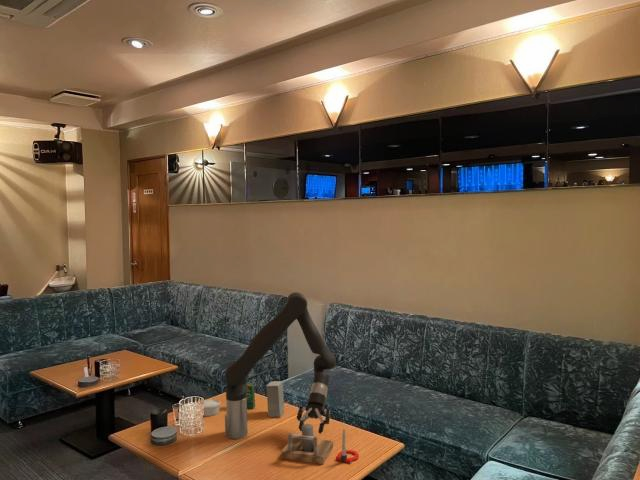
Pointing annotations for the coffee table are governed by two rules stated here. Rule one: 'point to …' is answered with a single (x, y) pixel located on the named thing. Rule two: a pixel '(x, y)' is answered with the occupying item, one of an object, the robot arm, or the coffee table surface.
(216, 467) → the coffee table surface
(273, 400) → the skincare box
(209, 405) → the ramekin
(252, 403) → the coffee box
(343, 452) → the tow hook
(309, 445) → the grey tapered capsule
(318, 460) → the wooden gate frame
